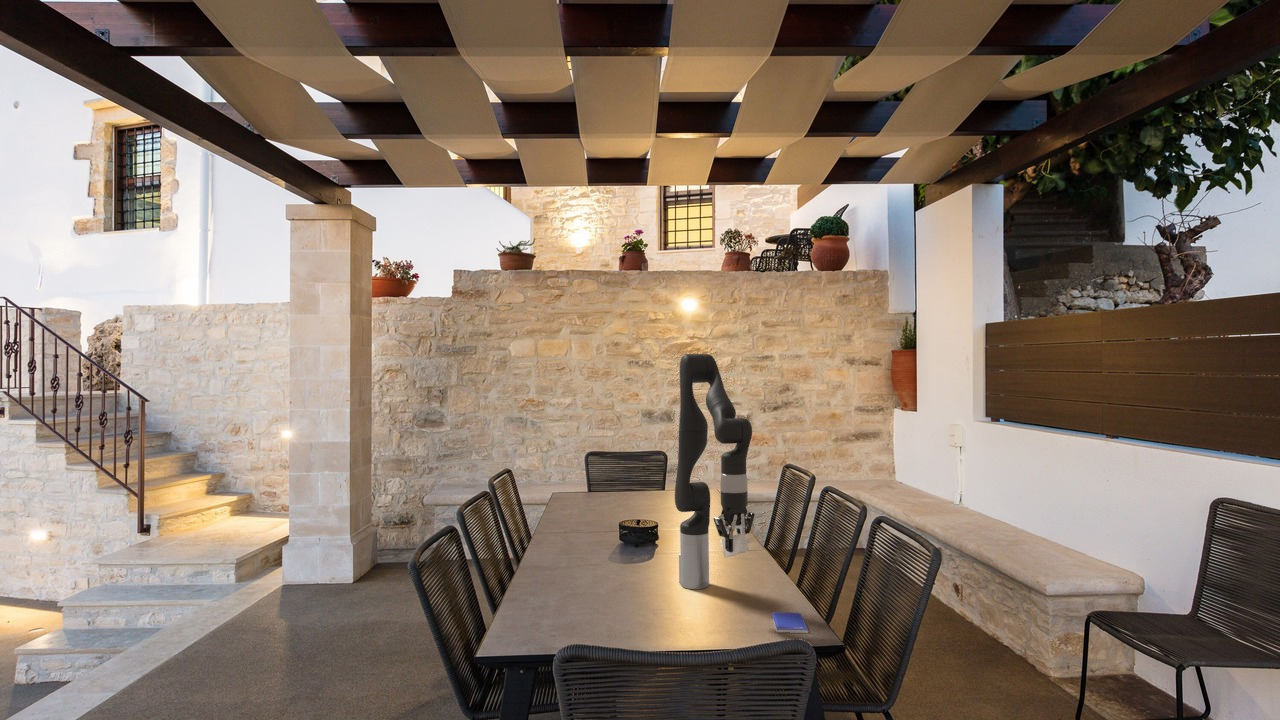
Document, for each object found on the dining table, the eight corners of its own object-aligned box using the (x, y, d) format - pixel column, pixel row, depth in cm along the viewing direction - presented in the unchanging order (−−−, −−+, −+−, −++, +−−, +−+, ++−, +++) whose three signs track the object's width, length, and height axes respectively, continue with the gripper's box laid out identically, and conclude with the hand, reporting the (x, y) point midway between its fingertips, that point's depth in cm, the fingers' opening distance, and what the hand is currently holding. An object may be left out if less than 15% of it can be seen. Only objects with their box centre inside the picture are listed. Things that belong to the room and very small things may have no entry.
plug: (722, 558, 197) (717, 540, 199) (731, 556, 199) (726, 539, 201) (746, 550, 188) (742, 532, 190) (756, 549, 190) (751, 530, 192)
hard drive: (808, 629, 184) (801, 612, 196) (777, 628, 184) (771, 612, 197) (808, 635, 184) (801, 618, 196) (777, 634, 184) (771, 617, 197)
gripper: (743, 484, 202) (744, 544, 202) (706, 490, 195) (706, 551, 194) (761, 488, 196) (762, 549, 196) (723, 494, 188) (724, 557, 188)
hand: (734, 550), depth 195 cm, fingers closed on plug, 3 cm apart
